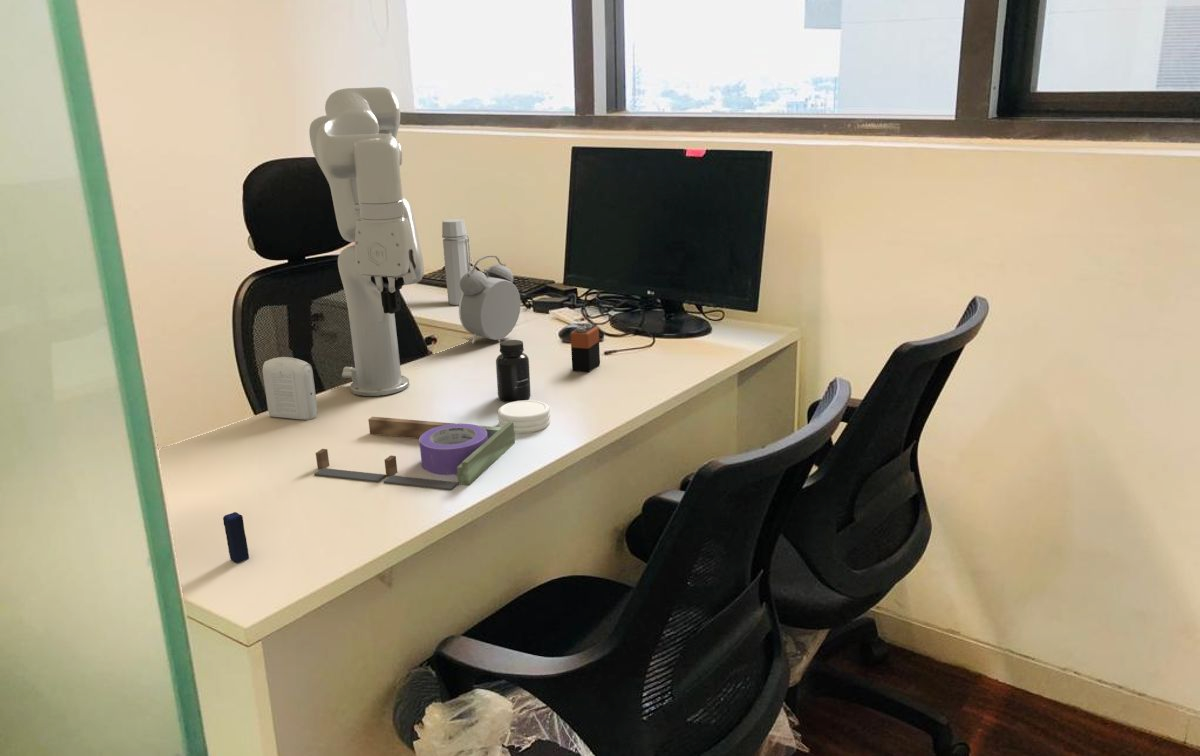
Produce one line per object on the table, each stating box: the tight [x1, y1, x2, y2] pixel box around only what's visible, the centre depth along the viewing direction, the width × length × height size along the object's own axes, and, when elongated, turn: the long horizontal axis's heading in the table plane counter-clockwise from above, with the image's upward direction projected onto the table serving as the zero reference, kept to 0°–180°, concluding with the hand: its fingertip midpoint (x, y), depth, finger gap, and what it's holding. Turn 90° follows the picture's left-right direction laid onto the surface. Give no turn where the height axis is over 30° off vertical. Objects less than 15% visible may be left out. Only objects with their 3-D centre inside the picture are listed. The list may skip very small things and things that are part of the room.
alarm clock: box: [458, 254, 522, 344], centre depth 233 cm, size 16×9×22 cm, turn 144°
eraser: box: [222, 511, 250, 564], centre depth 129 cm, size 2×2×7 cm
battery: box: [570, 322, 601, 373], centre depth 209 cm, size 4×7×10 cm, turn 157°
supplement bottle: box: [495, 339, 531, 403], centre depth 190 cm, size 7×7×12 cm
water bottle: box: [441, 218, 476, 307], centre depth 274 cm, size 9×8×25 cm
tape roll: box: [418, 423, 488, 476], centre depth 160 cm, size 12×12×5 cm
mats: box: [314, 467, 459, 491], centre depth 154 cm, size 26×2×1 cm, turn 72°
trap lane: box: [315, 416, 516, 486], centre depth 163 cm, size 29×19×4 cm, turn 72°
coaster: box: [497, 399, 551, 434], centre depth 177 cm, size 10×10×4 cm
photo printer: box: [262, 356, 319, 421], centre depth 184 cm, size 10×4×12 cm, turn 72°
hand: (392, 311), depth 168 cm, fingers closed
